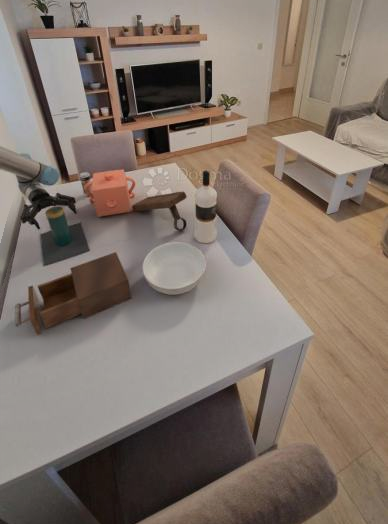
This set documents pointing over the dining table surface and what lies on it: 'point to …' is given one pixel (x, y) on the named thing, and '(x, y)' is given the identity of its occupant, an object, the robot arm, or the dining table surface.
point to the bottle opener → (163, 205)
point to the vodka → (205, 211)
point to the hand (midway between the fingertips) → (57, 218)
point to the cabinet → (100, 284)
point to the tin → (59, 225)
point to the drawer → (50, 303)
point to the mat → (60, 253)
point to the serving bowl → (174, 267)
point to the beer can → (84, 180)
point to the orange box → (110, 192)
